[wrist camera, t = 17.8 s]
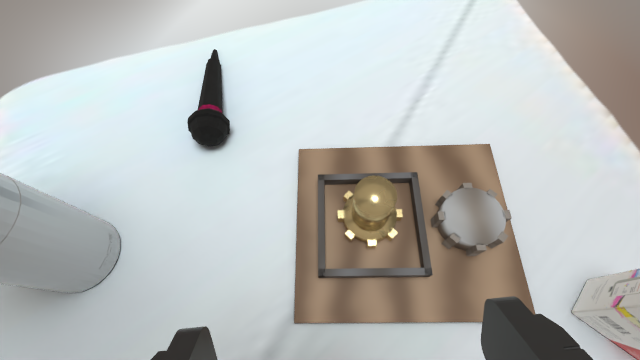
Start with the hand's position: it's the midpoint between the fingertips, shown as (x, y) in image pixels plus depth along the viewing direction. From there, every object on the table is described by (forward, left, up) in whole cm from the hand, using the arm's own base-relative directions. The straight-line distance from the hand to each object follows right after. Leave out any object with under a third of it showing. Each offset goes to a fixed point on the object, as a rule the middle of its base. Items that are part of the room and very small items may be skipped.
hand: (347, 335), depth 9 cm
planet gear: (+4, +13, -28) cm, 31 cm away
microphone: (-18, +33, -29) cm, 47 cm away
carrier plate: (+8, +12, -29) cm, 32 cm away
